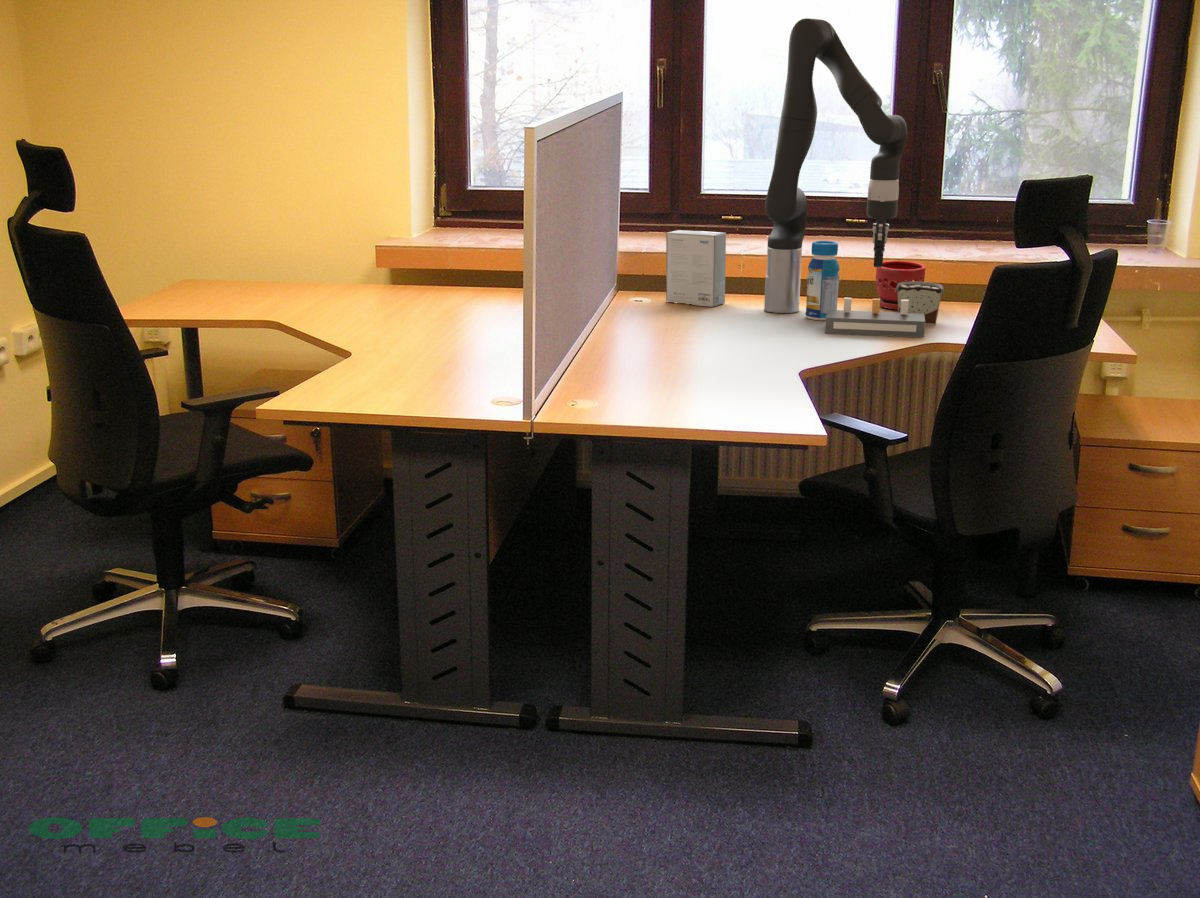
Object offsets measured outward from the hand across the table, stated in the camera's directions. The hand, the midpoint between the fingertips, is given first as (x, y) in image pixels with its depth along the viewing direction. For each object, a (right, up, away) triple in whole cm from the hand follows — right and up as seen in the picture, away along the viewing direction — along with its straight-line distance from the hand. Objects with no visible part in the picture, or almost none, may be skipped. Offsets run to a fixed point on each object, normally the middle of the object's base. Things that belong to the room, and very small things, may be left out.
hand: (877, 266), depth 299 cm
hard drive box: (-44, -5, +33) cm, 55 cm away
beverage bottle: (-12, -12, +12) cm, 21 cm away
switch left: (-8, -12, -2) cm, 15 cm away
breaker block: (-2, -17, -4) cm, 17 cm away
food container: (+12, -13, +7) cm, 20 cm away
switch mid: (-1, -12, -3) cm, 13 cm away
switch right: (+5, -13, -5) cm, 15 cm away
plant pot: (+12, -8, +25) cm, 29 cm away
